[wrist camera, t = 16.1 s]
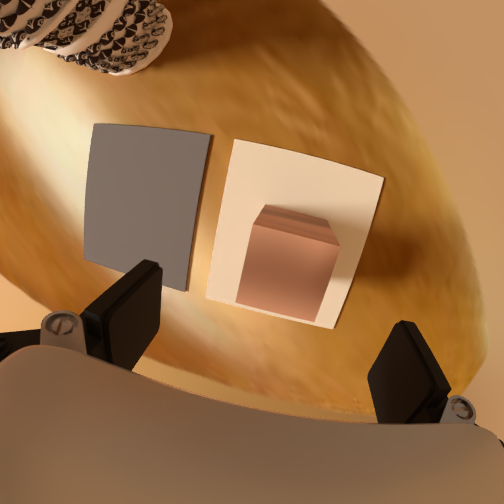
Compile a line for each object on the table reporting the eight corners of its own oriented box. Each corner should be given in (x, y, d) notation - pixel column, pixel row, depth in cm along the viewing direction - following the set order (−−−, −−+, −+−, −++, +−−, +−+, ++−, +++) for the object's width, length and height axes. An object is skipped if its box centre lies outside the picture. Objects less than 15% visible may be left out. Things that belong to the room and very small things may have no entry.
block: (265, 204, 22) (252, 223, 15) (326, 220, 22) (340, 246, 15) (251, 262, 24) (235, 302, 17) (309, 277, 23) (314, 322, 17)
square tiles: (95, 123, 22) (94, 123, 22) (383, 177, 20) (383, 177, 20) (85, 258, 27) (84, 259, 26) (332, 328, 25) (332, 329, 25)
